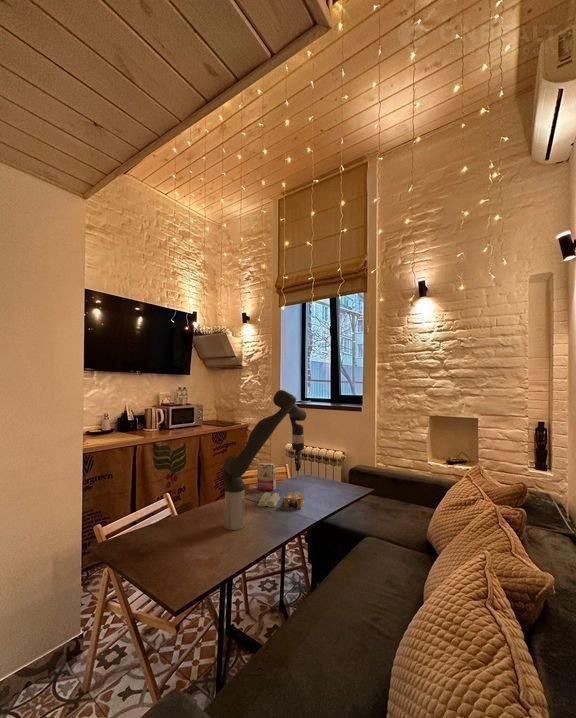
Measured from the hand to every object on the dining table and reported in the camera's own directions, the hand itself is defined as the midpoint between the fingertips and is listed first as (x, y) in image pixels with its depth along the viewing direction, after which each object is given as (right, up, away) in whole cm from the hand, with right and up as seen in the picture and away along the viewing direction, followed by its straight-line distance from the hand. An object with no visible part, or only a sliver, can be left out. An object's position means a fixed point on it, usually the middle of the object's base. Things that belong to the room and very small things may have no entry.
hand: (298, 469), depth 203 cm
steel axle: (-2, -15, -12) cm, 19 cm away
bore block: (-2, -14, -15) cm, 21 cm away
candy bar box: (-20, -17, +10) cm, 28 cm away
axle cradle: (-17, -15, -13) cm, 26 cm away
